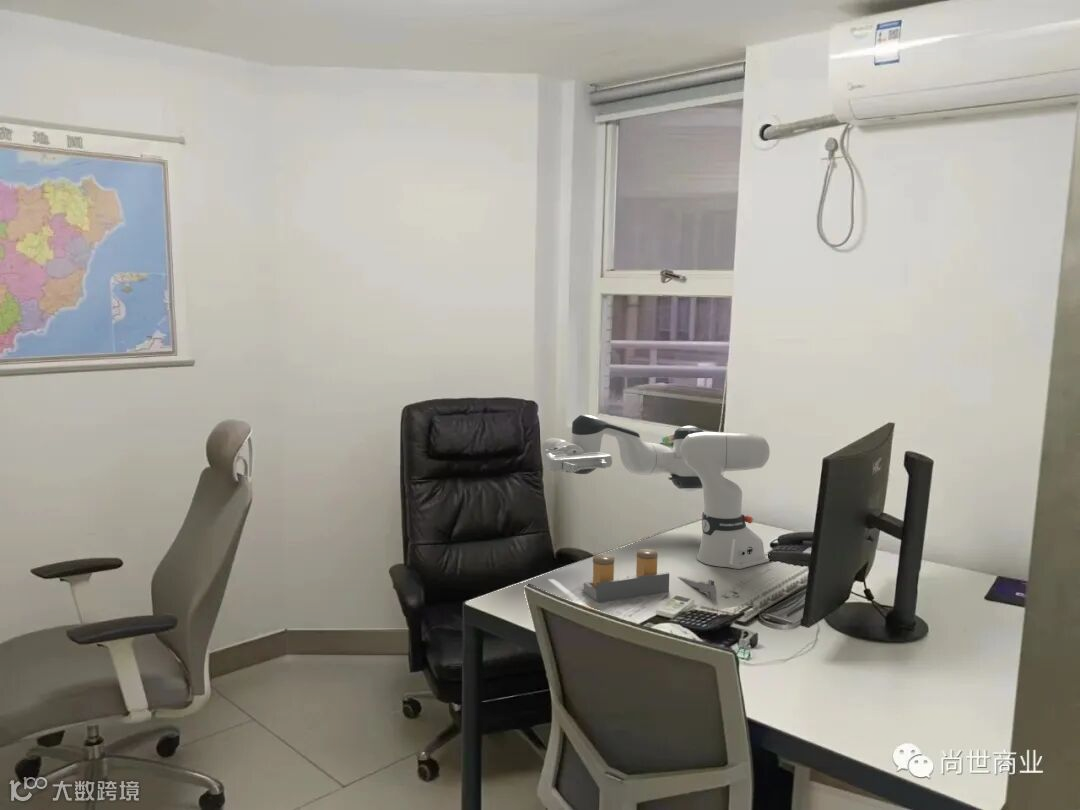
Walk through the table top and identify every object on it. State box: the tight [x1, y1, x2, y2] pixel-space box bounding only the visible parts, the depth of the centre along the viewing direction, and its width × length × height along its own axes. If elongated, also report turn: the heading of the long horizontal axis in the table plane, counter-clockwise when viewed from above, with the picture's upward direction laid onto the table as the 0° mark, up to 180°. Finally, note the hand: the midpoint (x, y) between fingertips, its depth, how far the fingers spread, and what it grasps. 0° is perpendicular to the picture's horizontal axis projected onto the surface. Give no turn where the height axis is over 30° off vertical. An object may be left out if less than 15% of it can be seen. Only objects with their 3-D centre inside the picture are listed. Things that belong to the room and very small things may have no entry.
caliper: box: [677, 576, 718, 602], centre depth 217 cm, size 20×1×6 cm, turn 19°
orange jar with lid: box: [635, 548, 659, 577], centre depth 216 cm, size 6×6×10 cm
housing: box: [581, 571, 670, 604], centre depth 214 cm, size 21×10×6 cm, turn 112°
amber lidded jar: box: [592, 554, 615, 588], centre depth 211 cm, size 6×6×10 cm
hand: (589, 466), depth 233 cm, fingers open, 8 cm apart
